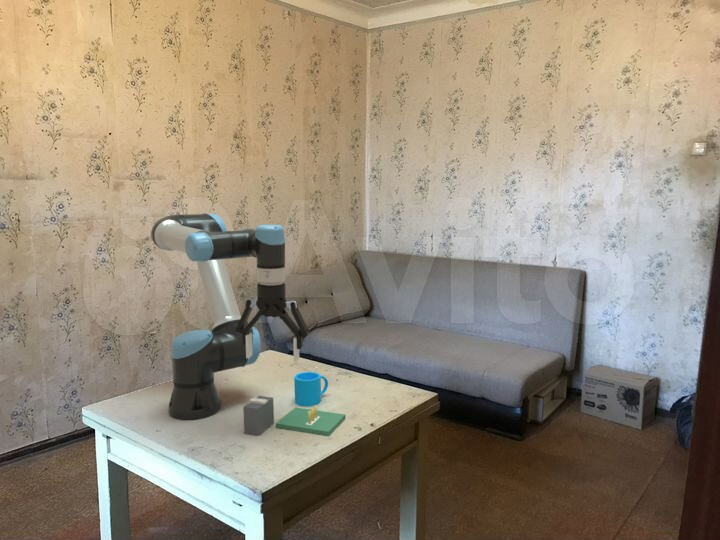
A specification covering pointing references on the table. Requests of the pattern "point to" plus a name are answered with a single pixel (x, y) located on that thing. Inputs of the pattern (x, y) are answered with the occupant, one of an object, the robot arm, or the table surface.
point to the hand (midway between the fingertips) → (272, 358)
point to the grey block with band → (258, 415)
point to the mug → (308, 388)
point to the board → (311, 421)
